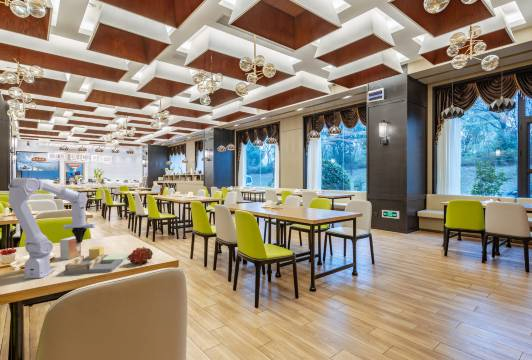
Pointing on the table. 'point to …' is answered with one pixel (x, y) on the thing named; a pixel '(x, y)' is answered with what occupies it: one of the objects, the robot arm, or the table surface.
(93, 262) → the shallow brown tray
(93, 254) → the cube
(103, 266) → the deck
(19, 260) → the table surface
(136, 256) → the red grape bunch
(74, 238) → the small box
